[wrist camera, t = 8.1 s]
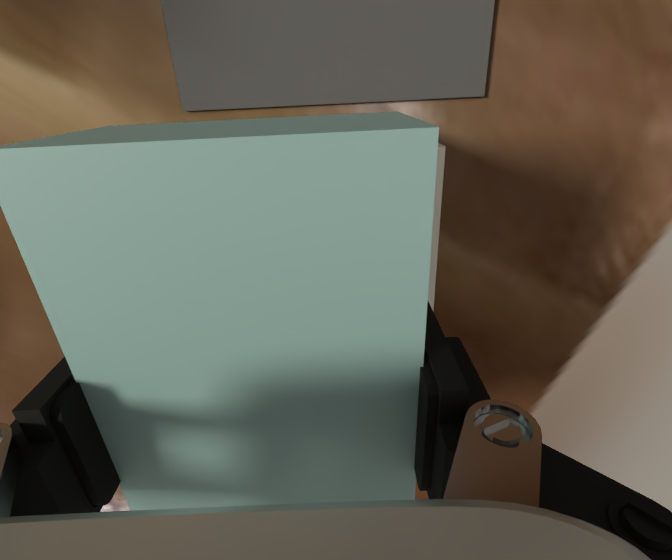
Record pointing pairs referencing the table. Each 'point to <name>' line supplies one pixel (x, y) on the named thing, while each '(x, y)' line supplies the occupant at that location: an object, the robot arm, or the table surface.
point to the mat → (326, 51)
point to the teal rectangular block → (238, 298)
